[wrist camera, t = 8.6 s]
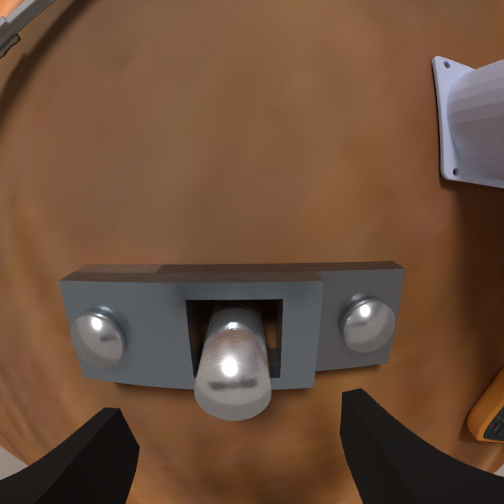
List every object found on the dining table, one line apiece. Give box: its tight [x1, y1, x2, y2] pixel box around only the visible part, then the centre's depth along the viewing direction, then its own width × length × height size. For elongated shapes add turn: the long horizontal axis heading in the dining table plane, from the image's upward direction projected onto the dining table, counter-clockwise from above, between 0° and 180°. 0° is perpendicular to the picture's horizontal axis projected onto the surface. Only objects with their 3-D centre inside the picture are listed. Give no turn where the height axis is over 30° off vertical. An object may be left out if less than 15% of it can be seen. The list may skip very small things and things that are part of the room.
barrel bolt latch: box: [59, 261, 404, 390], centre depth 15 cm, size 18×6×4 cm, turn 91°
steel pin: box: [194, 299, 271, 421], centre depth 14 cm, size 3×3×7 cm
